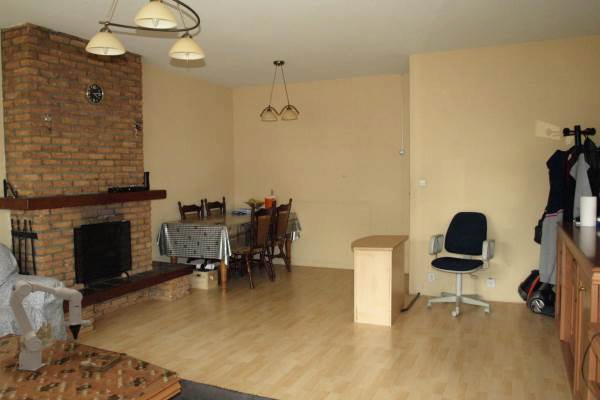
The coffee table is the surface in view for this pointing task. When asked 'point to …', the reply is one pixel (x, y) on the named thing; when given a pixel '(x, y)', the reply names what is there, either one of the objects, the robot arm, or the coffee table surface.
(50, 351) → the coffee table surface
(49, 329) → the ceramic cottage
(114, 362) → the holder
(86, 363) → the lighter
